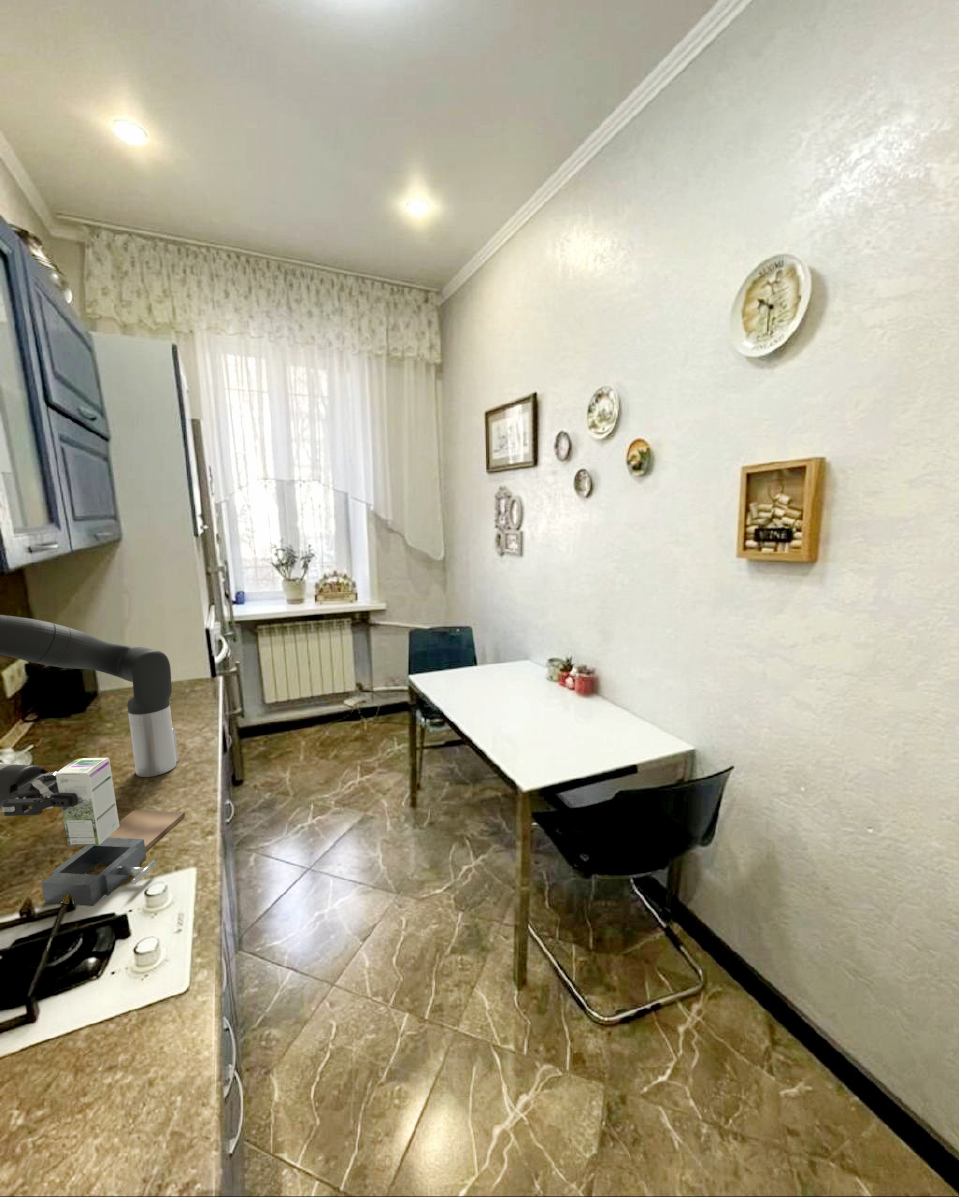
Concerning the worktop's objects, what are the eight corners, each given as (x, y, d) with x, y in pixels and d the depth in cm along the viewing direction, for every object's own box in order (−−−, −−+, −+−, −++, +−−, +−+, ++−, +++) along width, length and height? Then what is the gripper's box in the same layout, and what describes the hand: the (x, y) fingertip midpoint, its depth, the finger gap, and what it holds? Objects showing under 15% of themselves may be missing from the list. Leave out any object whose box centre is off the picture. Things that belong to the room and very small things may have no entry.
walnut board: (134, 814, 113) (134, 810, 113) (184, 816, 112) (184, 812, 112) (90, 848, 101) (89, 844, 101) (145, 851, 100) (145, 847, 100)
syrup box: (121, 826, 95) (111, 755, 92) (98, 847, 89) (87, 772, 86) (90, 827, 94) (79, 756, 92) (66, 847, 89) (53, 772, 86)
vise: (100, 855, 99) (97, 837, 99) (171, 858, 98) (169, 840, 97) (40, 903, 87) (37, 882, 86) (121, 907, 86) (118, 887, 85)
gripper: (-41, 789, 83) (52, 793, 82) (40, 748, 97) (120, 751, 96) (-33, 829, 85) (59, 833, 83) (46, 783, 99) (125, 786, 98)
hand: (91, 789), depth 90 cm, fingers closed on syrup box, 6 cm apart
